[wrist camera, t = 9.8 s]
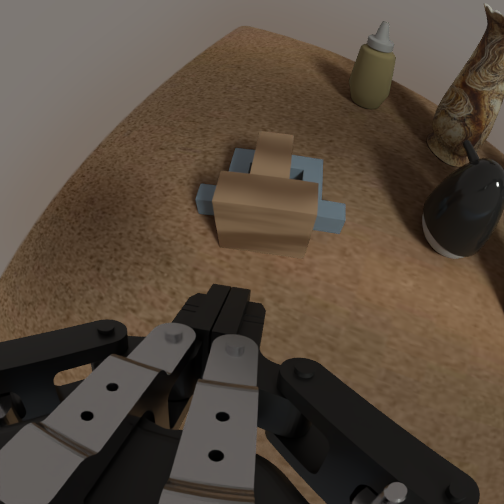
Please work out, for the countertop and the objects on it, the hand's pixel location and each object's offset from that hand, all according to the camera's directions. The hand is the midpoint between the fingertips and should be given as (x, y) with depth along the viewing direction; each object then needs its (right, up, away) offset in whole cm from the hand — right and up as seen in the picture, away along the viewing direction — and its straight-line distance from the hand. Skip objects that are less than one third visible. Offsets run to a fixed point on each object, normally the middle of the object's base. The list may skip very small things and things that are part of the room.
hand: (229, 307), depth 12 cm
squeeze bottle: (+23, +32, +41) cm, 57 cm away
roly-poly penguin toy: (+28, +4, +26) cm, 38 cm away
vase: (+37, +21, +35) cm, 56 cm away
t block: (+3, +7, +27) cm, 28 cm away
